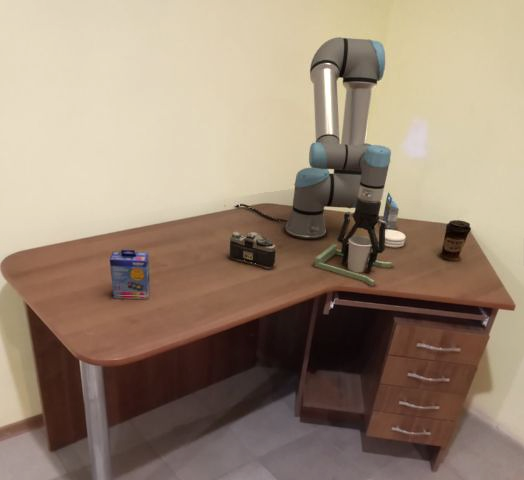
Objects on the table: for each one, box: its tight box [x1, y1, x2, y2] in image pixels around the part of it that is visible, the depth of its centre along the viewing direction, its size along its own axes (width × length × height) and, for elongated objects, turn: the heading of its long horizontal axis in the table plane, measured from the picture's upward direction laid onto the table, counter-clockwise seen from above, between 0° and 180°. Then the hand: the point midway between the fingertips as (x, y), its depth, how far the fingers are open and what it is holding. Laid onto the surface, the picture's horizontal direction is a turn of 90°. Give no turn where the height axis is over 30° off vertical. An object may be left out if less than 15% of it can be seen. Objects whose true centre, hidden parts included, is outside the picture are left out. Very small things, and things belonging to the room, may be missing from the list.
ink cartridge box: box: [109, 249, 151, 300], centre depth 143 cm, size 10×6×14 cm, turn 95°
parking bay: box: [313, 243, 392, 287], centre depth 173 cm, size 21×18×3 cm
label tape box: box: [382, 191, 400, 230], centre depth 207 cm, size 9×4×12 cm, turn 179°
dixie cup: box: [347, 235, 373, 273], centre depth 171 cm, size 8×8×10 cm
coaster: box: [377, 229, 406, 249], centre depth 194 cm, size 10×10×4 cm
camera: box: [229, 231, 277, 270], centre depth 170 cm, size 16×10×10 cm, turn 65°
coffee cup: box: [440, 219, 472, 261], centre depth 184 cm, size 9×8×13 cm
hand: (356, 266), depth 173 cm, fingers closed on dixie cup, 8 cm apart
